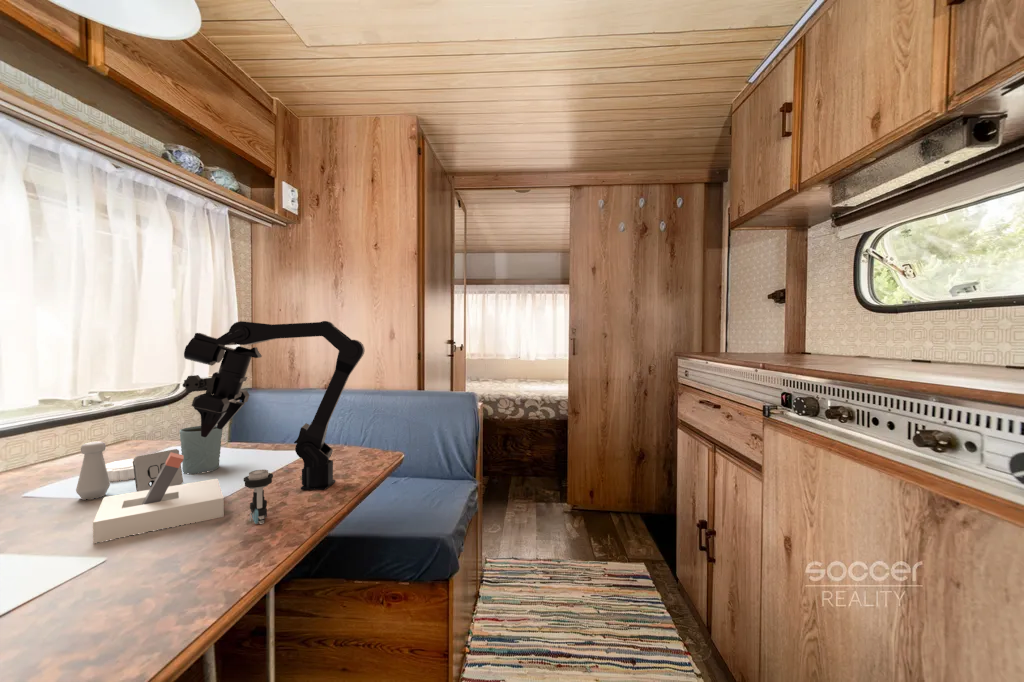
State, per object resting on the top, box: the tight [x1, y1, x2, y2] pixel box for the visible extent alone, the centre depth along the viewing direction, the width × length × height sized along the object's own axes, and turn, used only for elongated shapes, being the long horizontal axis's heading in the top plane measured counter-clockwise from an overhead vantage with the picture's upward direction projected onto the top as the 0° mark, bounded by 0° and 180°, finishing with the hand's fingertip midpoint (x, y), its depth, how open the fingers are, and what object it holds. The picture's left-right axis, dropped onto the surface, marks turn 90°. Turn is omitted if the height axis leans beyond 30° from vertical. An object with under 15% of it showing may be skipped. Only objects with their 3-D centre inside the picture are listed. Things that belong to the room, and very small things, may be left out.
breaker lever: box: [142, 452, 184, 505], centre depth 91 cm, size 2×4×11 cm, turn 38°
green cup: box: [179, 425, 224, 475], centre depth 124 cm, size 10×10×12 cm
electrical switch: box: [132, 448, 184, 492], centre depth 109 cm, size 9×5×9 cm, turn 152°
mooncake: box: [105, 458, 135, 482], centre depth 119 cm, size 12×12×4 cm
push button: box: [243, 469, 274, 525], centre depth 89 cm, size 7×5×10 cm
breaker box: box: [92, 478, 225, 545], centre depth 91 cm, size 20×16×4 cm
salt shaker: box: [75, 440, 111, 501], centre depth 102 cm, size 6×6×13 cm
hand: (211, 432), depth 104 cm, fingers open, 9 cm apart
